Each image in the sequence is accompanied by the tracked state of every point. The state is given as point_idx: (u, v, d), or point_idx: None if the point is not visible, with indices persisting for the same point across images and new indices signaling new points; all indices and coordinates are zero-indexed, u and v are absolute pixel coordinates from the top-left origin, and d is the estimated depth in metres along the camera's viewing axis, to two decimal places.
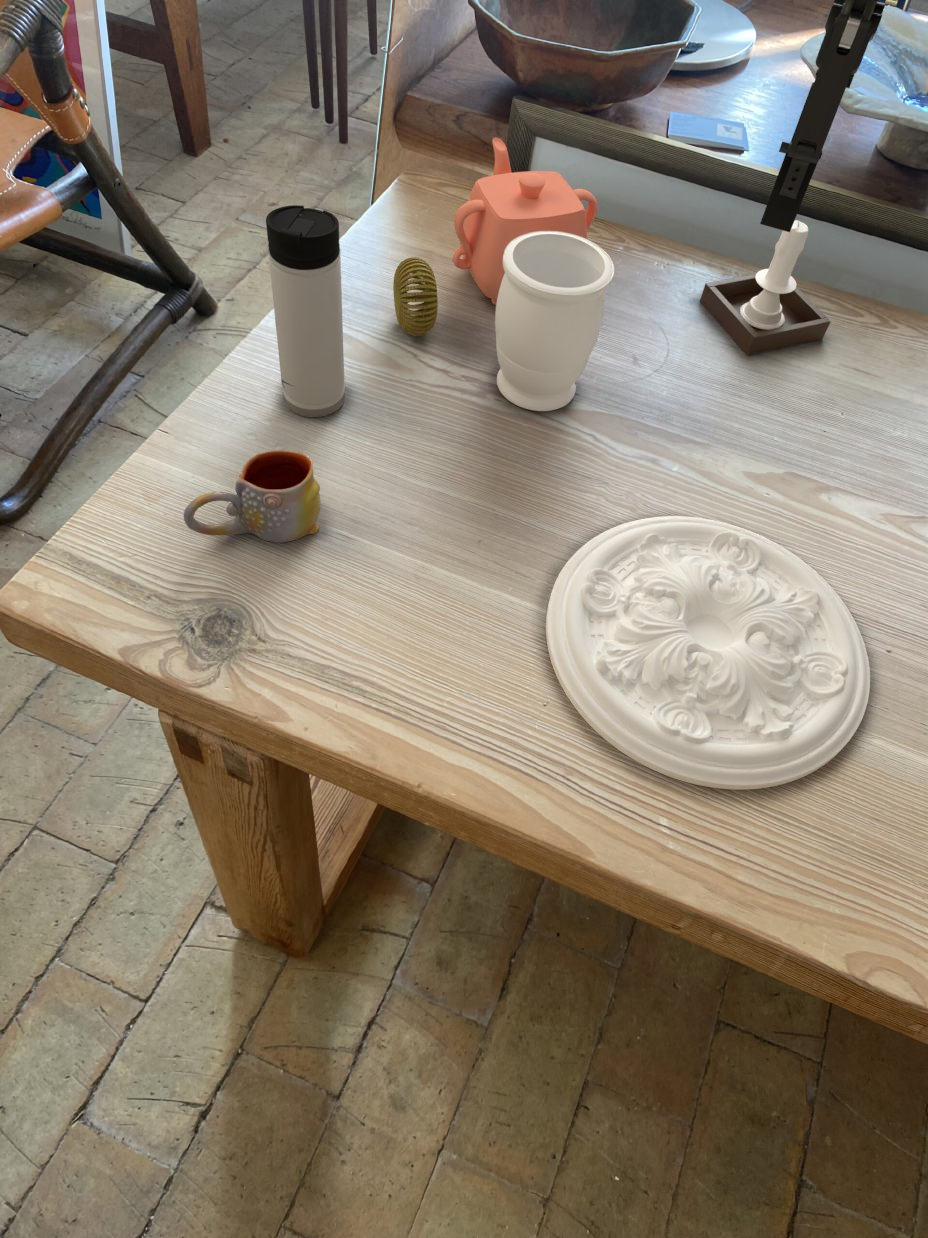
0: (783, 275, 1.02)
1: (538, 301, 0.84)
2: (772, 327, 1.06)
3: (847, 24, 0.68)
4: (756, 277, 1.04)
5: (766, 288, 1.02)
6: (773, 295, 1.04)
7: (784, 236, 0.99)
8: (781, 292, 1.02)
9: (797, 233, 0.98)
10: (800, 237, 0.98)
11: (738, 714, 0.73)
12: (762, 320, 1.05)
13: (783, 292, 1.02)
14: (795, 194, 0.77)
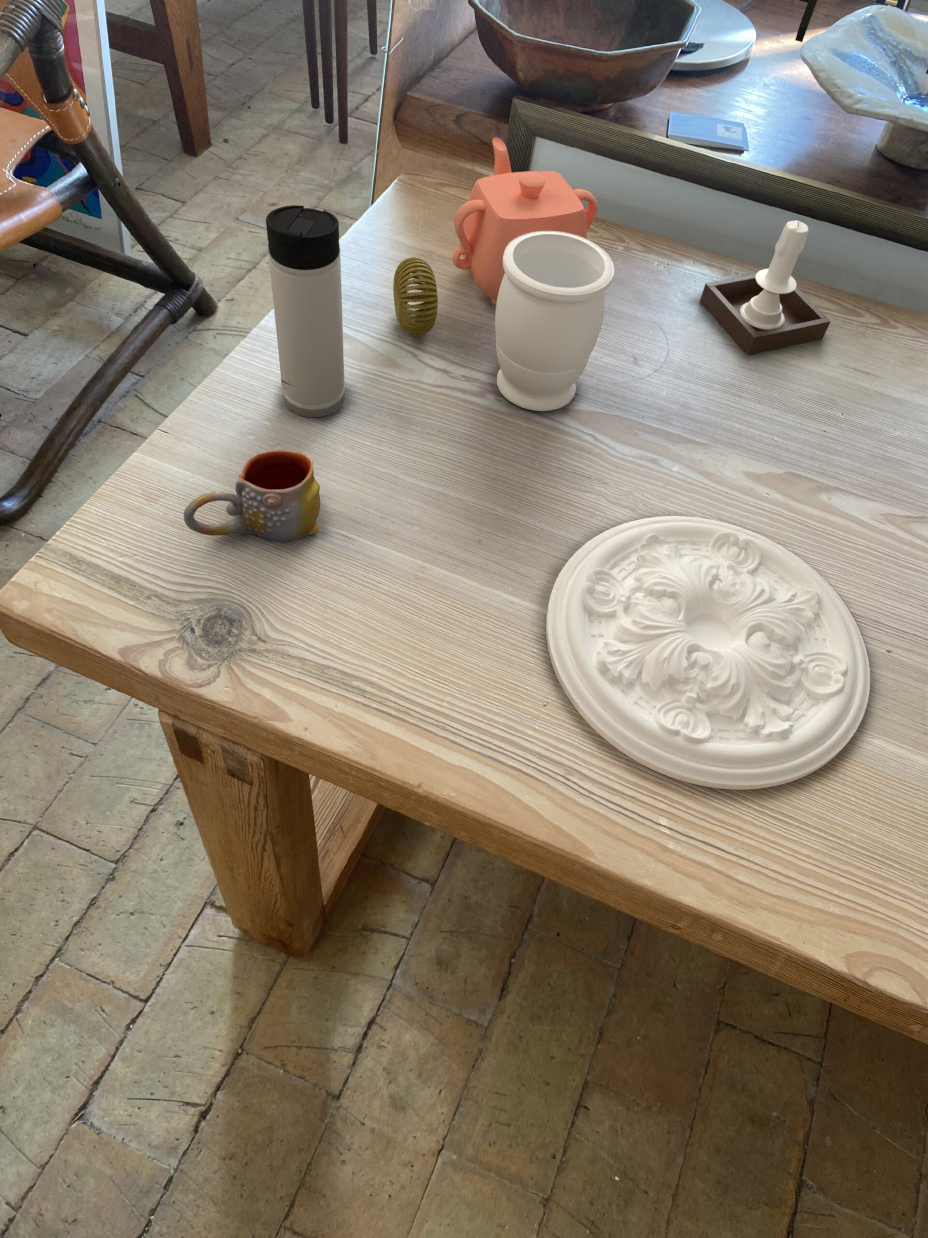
0: (783, 275, 1.02)
1: (538, 302, 0.84)
2: (772, 327, 1.06)
3: None
4: (756, 277, 1.04)
5: (766, 288, 1.02)
6: (773, 295, 1.04)
7: (784, 236, 0.99)
8: (781, 292, 1.02)
9: (797, 233, 0.98)
10: (800, 237, 0.98)
11: (738, 714, 0.73)
12: (762, 320, 1.05)
13: (783, 292, 1.02)
14: None
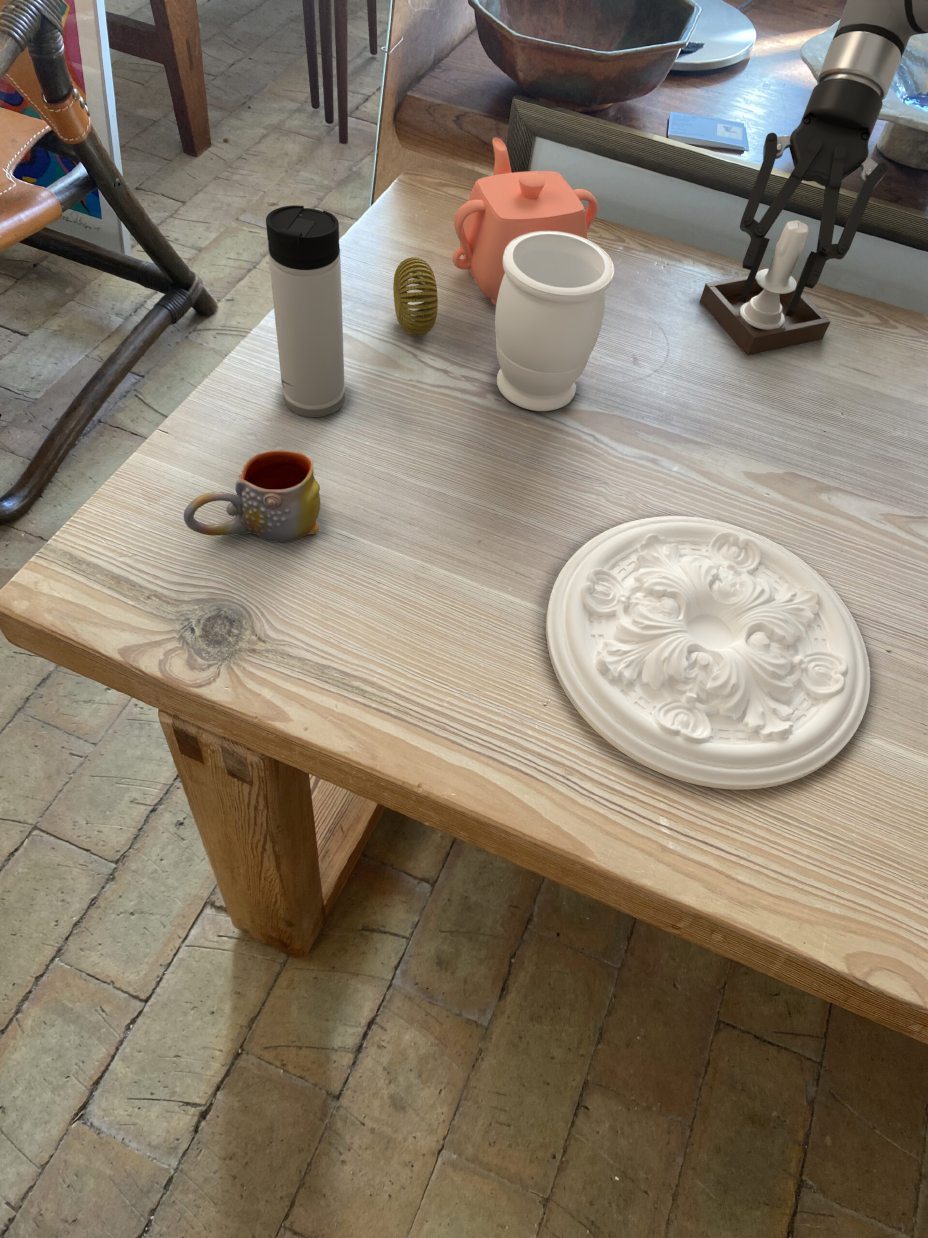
0: (783, 275, 1.02)
1: (538, 301, 0.84)
2: (772, 327, 1.06)
3: (764, 143, 1.01)
4: (756, 277, 1.04)
5: (766, 288, 1.02)
6: (773, 295, 1.04)
7: (784, 236, 0.99)
8: (781, 292, 1.02)
9: (798, 233, 0.98)
10: (800, 237, 0.98)
11: (738, 714, 0.73)
12: (762, 320, 1.05)
13: (783, 292, 1.02)
14: (743, 260, 1.02)
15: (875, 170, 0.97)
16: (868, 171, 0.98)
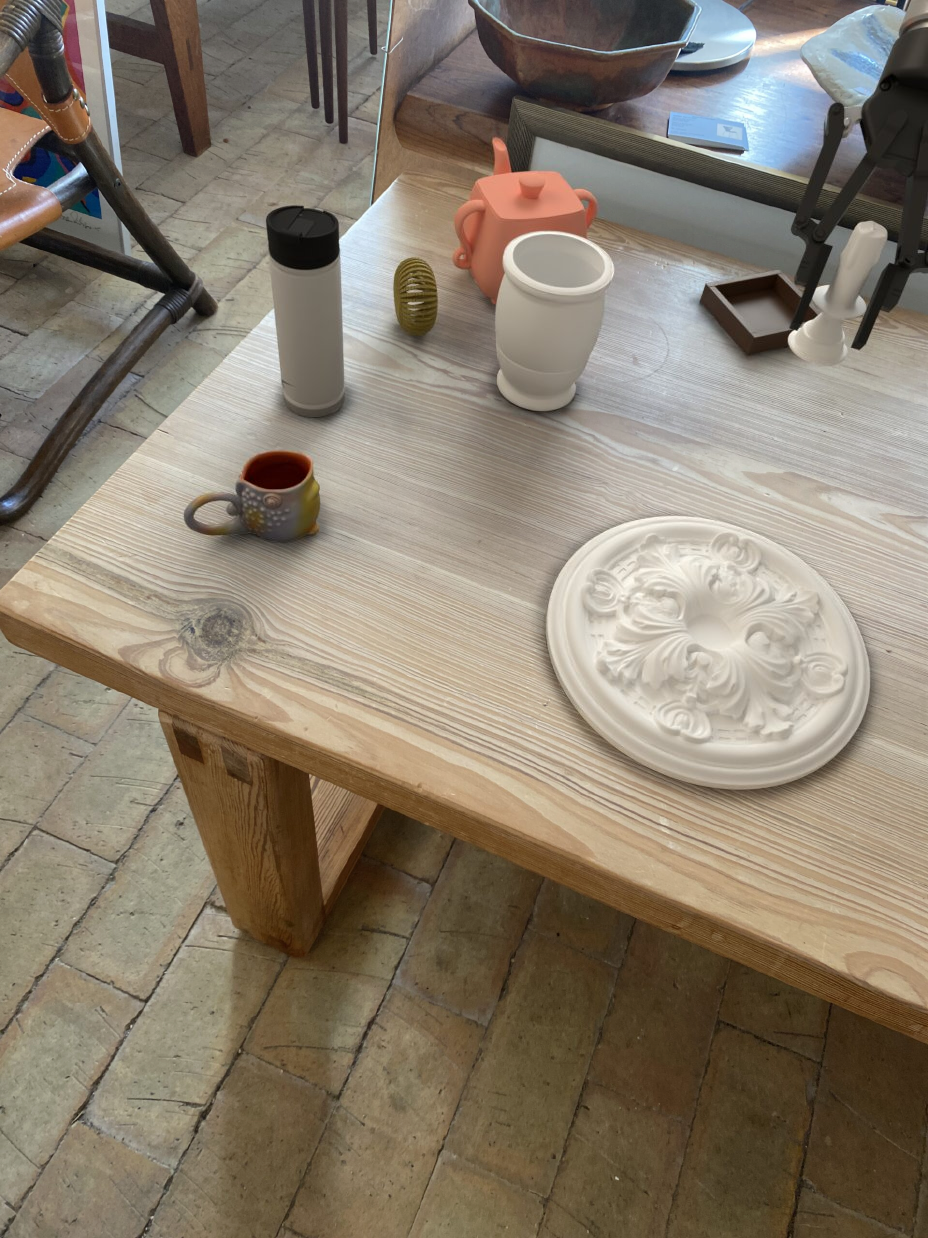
0: (850, 295, 0.76)
1: (538, 301, 0.84)
2: (832, 362, 0.80)
3: None
4: None
5: (826, 311, 0.77)
6: (835, 321, 0.78)
7: (854, 242, 0.73)
8: (847, 317, 0.76)
9: (873, 239, 0.72)
10: (876, 244, 0.72)
11: (738, 714, 0.73)
12: (819, 353, 0.80)
13: (849, 317, 0.76)
14: (796, 274, 0.76)
15: None
16: None
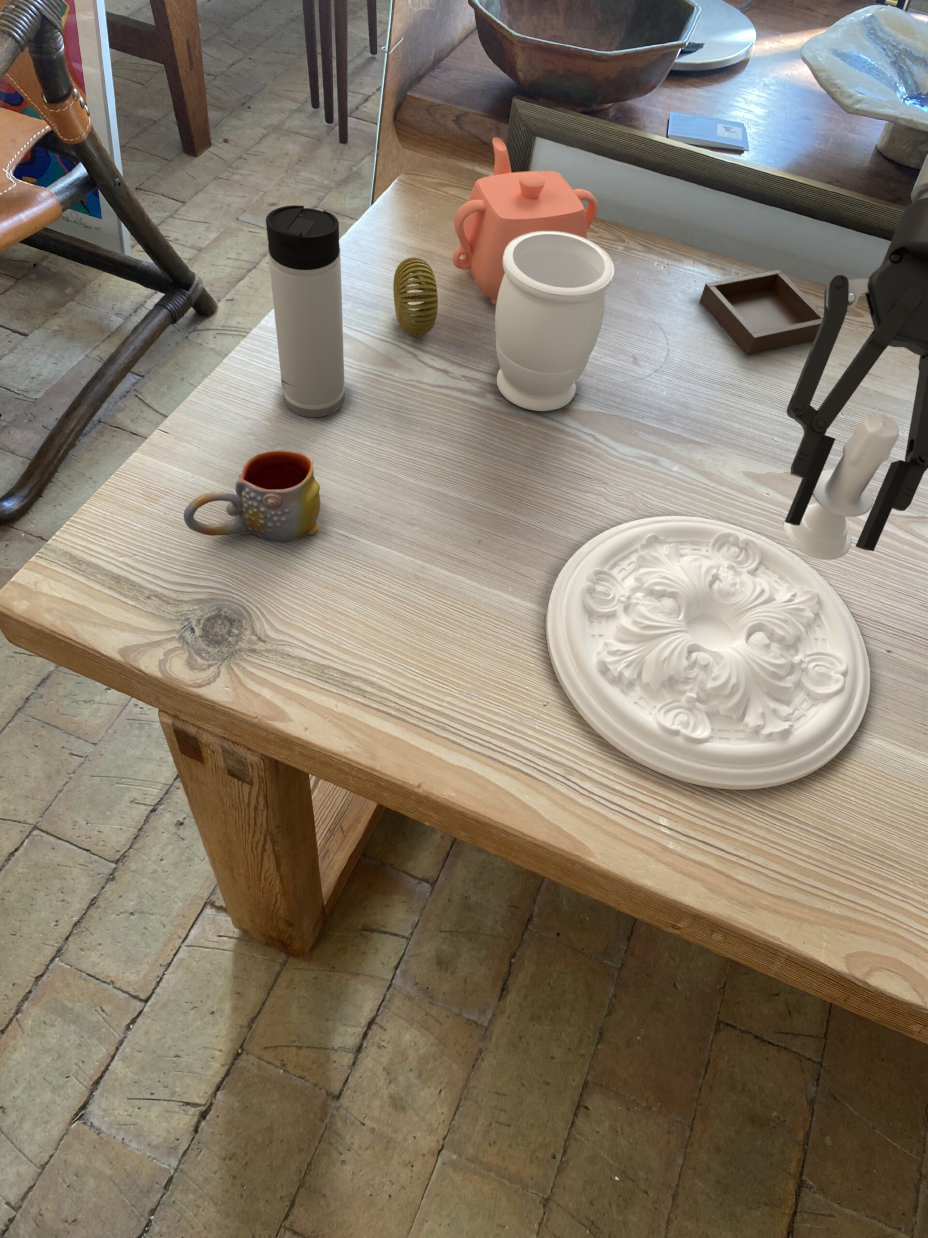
0: (855, 491, 0.66)
1: (538, 302, 0.84)
2: (834, 556, 0.70)
3: None
4: None
5: (828, 508, 0.67)
6: (837, 514, 0.68)
7: (860, 439, 0.63)
8: (851, 515, 0.66)
9: (882, 439, 0.62)
10: (886, 443, 0.62)
11: (738, 714, 0.73)
12: (819, 546, 0.70)
13: (854, 515, 0.66)
14: (792, 466, 0.66)
15: None
16: None
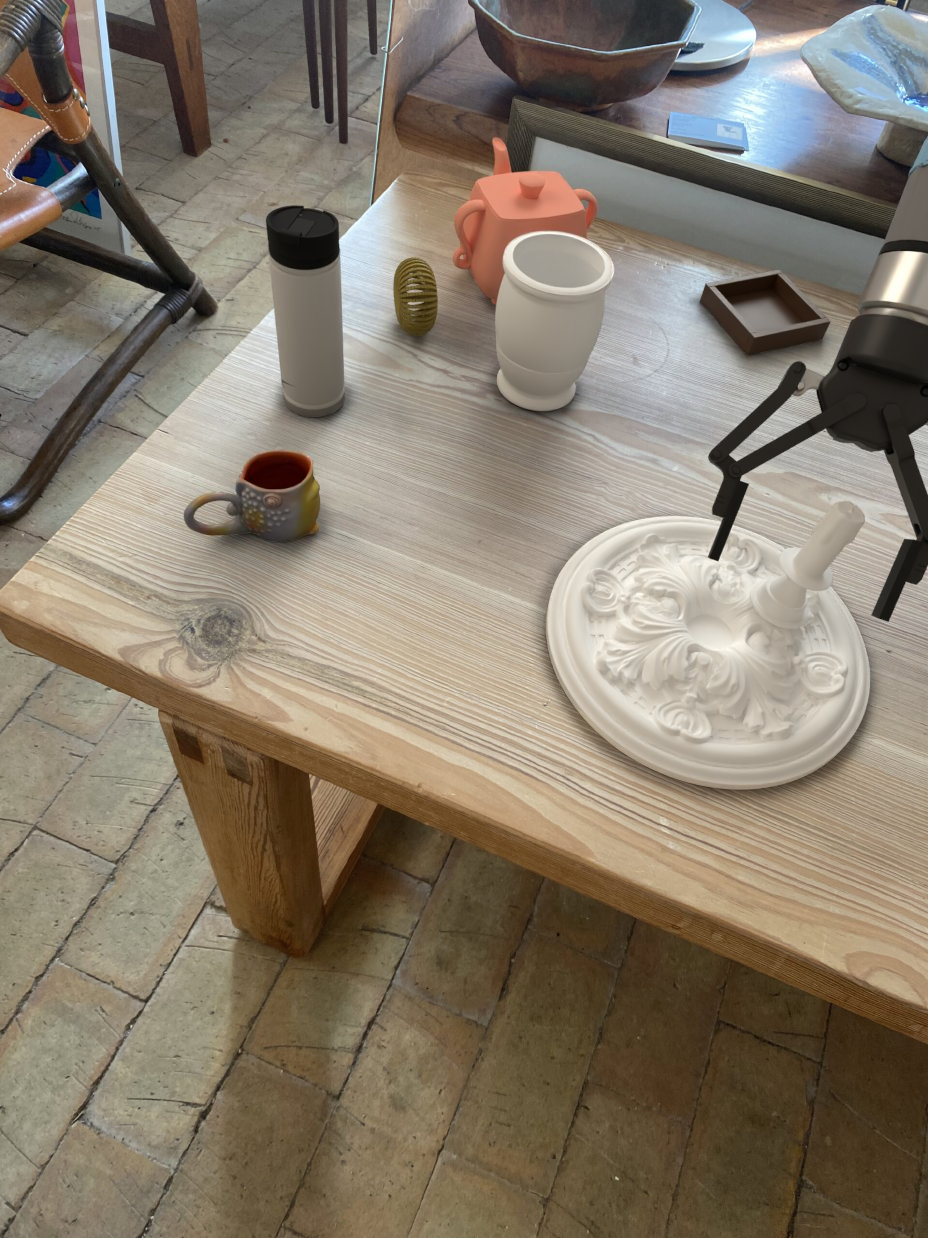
0: (820, 568, 0.73)
1: (538, 301, 0.84)
2: (793, 626, 0.77)
3: (789, 367, 0.72)
4: (780, 561, 0.74)
5: (795, 581, 0.73)
6: (801, 587, 0.75)
7: (831, 522, 0.70)
8: (815, 589, 0.73)
9: (851, 523, 0.69)
10: (853, 528, 0.69)
11: (738, 714, 0.73)
12: (781, 615, 0.76)
13: (817, 589, 0.73)
14: (712, 508, 0.73)
15: None
16: None
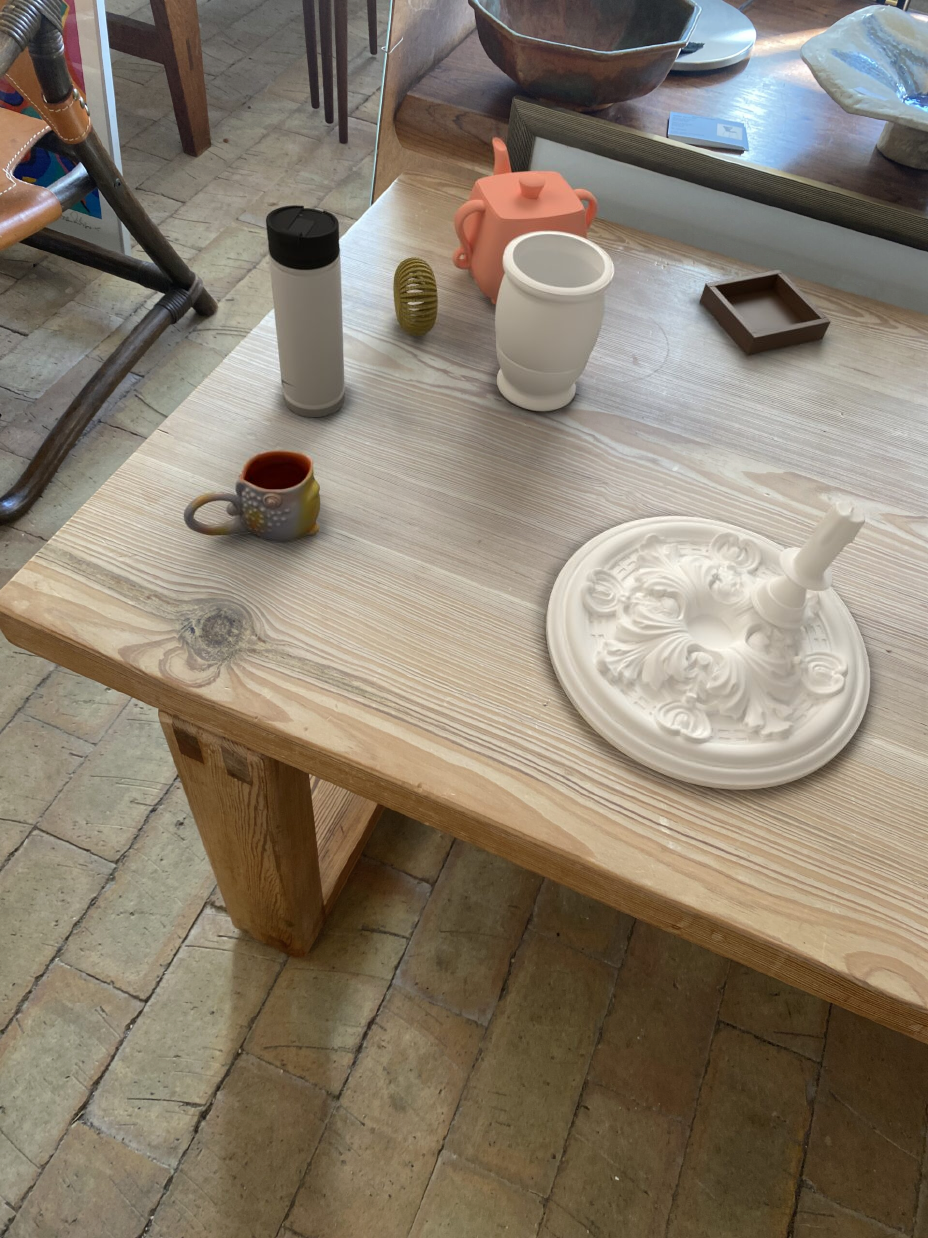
0: (820, 568, 0.73)
1: (538, 301, 0.84)
2: (793, 626, 0.77)
3: None
4: (780, 561, 0.74)
5: (795, 581, 0.73)
6: (801, 587, 0.75)
7: (831, 522, 0.70)
8: (815, 589, 0.73)
9: (851, 523, 0.69)
10: (853, 528, 0.69)
11: (739, 714, 0.73)
12: (781, 615, 0.76)
13: (817, 589, 0.73)
14: None
15: None
16: None
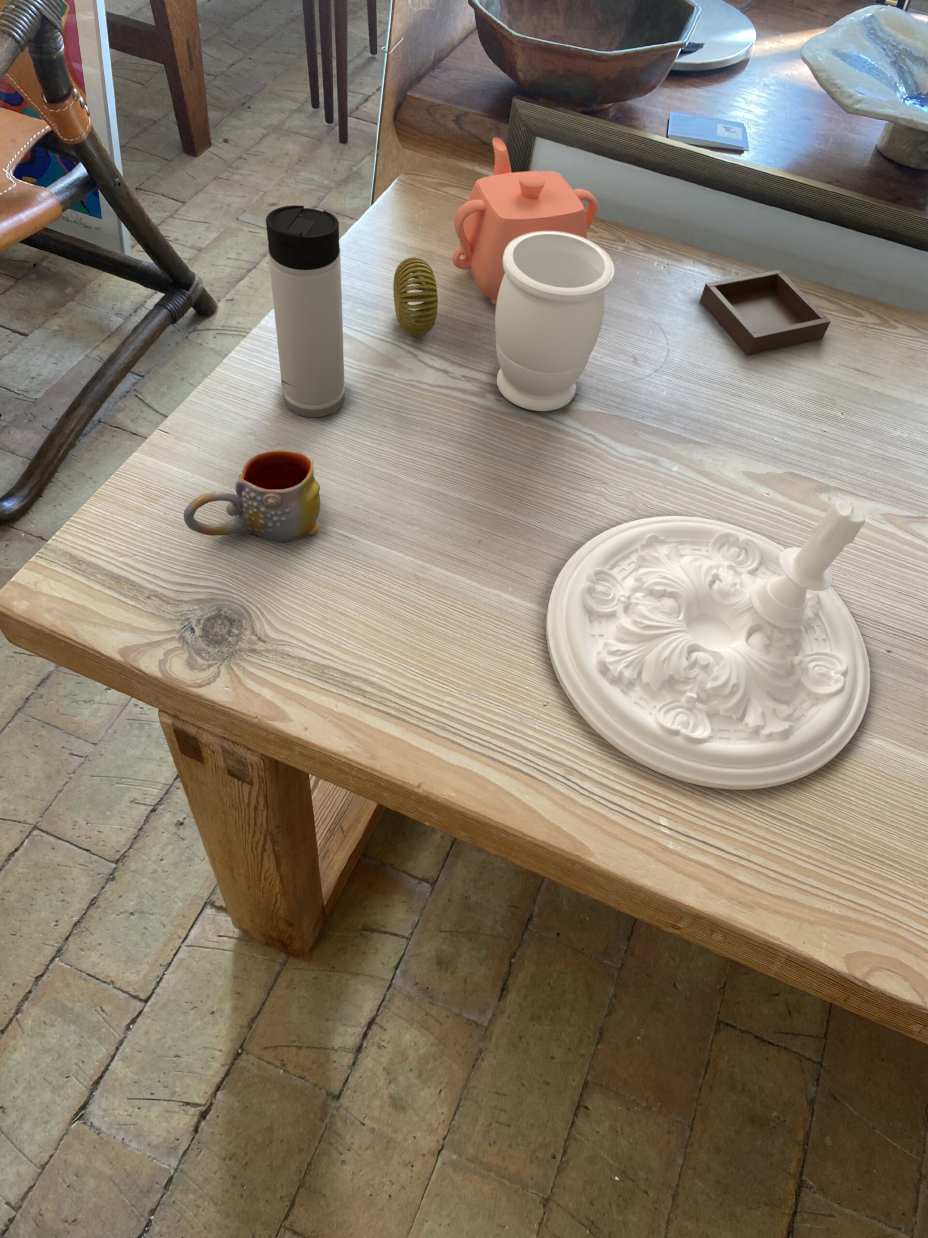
0: (820, 568, 0.73)
1: (538, 301, 0.84)
2: (793, 626, 0.77)
3: None
4: (780, 561, 0.74)
5: (795, 581, 0.73)
6: (801, 587, 0.75)
7: (831, 522, 0.70)
8: (815, 589, 0.73)
9: (851, 523, 0.69)
10: (853, 528, 0.69)
11: (738, 714, 0.73)
12: (781, 615, 0.76)
13: (817, 589, 0.73)
14: None
15: None
16: None
